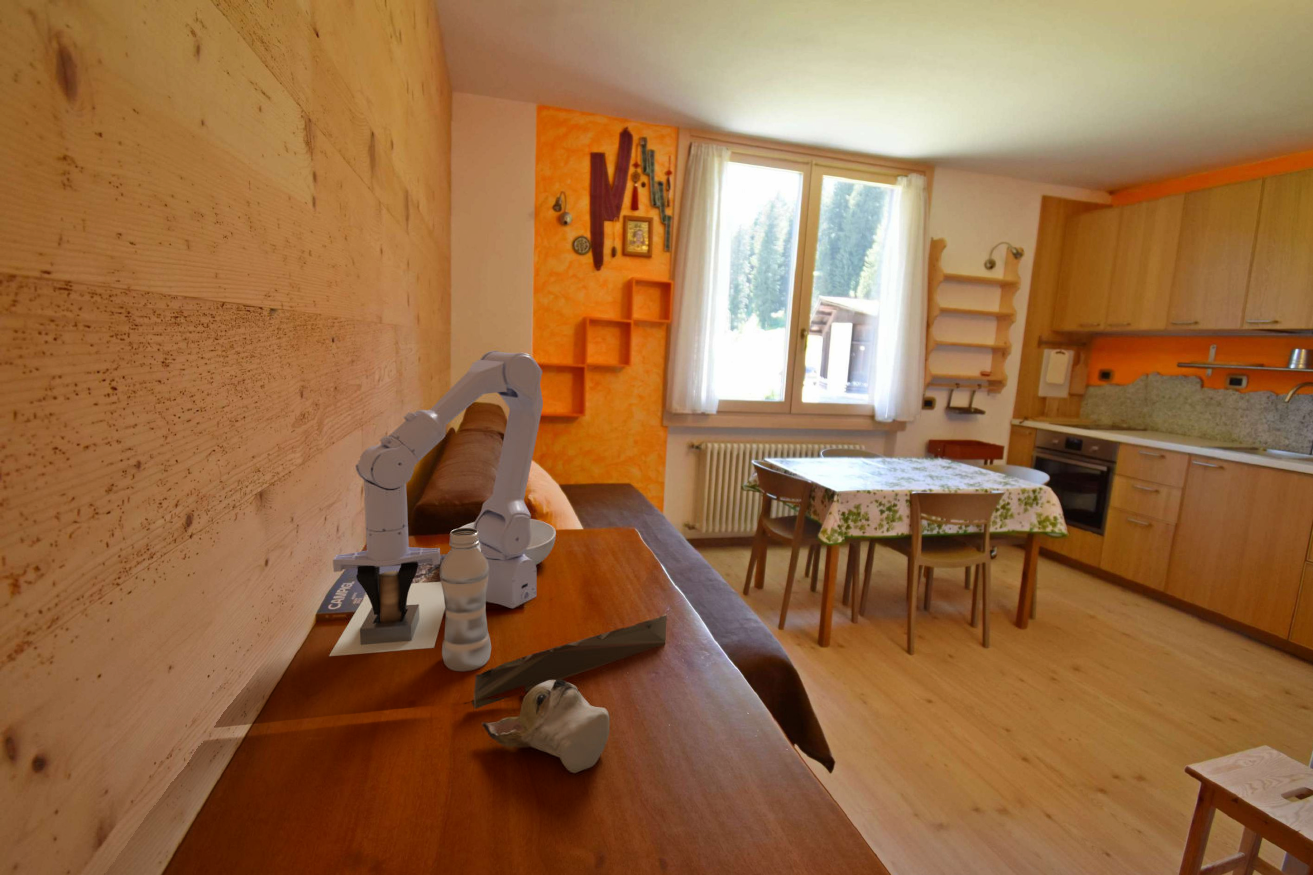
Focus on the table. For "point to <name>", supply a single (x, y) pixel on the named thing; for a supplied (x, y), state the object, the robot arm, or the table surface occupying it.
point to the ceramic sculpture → (556, 725)
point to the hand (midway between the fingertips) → (390, 610)
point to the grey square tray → (389, 627)
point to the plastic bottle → (465, 602)
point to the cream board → (425, 632)
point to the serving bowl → (535, 540)
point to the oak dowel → (389, 597)
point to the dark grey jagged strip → (568, 659)
